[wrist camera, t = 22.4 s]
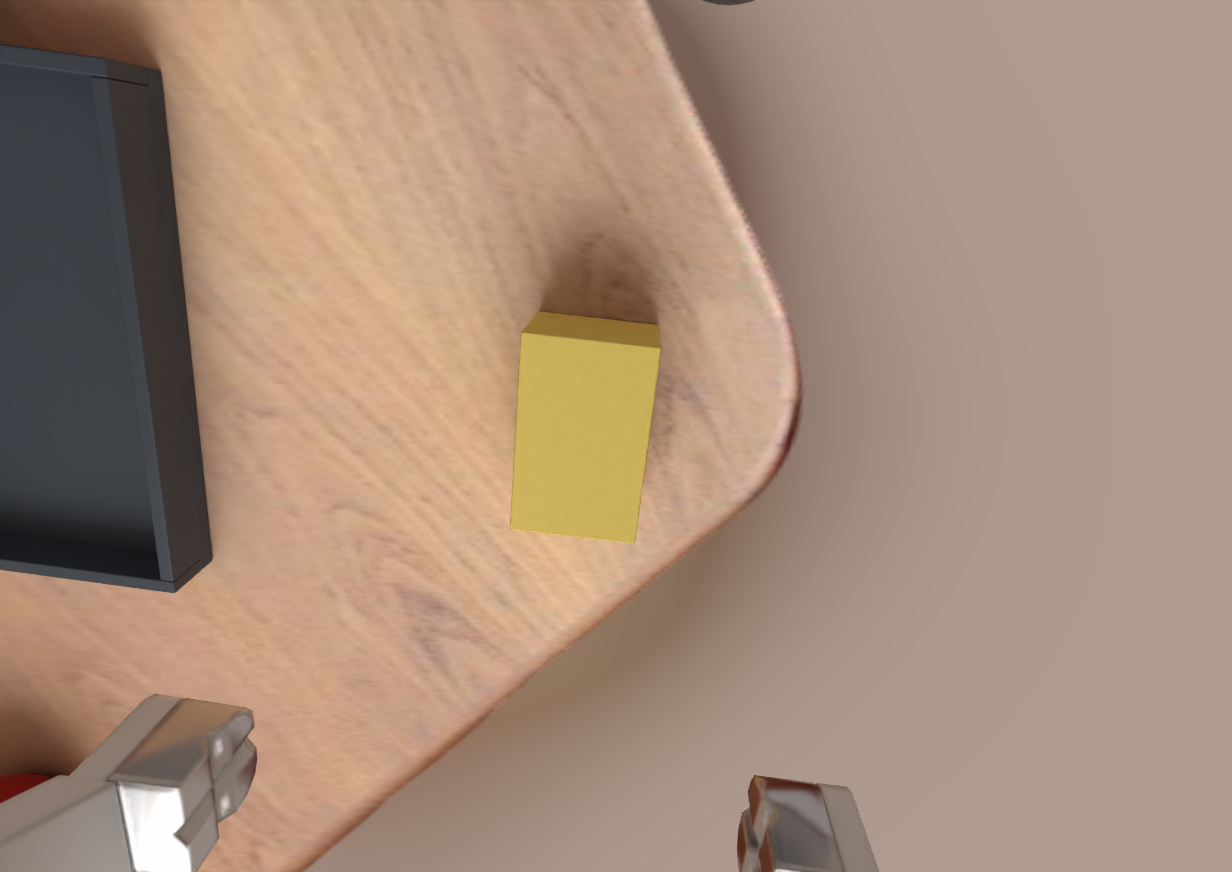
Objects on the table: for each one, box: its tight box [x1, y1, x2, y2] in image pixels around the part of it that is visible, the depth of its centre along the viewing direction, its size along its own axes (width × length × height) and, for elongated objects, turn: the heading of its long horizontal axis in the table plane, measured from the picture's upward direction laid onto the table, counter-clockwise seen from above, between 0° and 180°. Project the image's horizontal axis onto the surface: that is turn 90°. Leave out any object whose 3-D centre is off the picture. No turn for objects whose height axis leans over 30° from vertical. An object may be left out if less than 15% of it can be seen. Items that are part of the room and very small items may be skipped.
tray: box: [0, 44, 212, 593], centre depth 27 cm, size 21×12×3 cm, turn 173°
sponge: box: [510, 311, 661, 543], centre depth 27 cm, size 8×5×4 cm, turn 174°
